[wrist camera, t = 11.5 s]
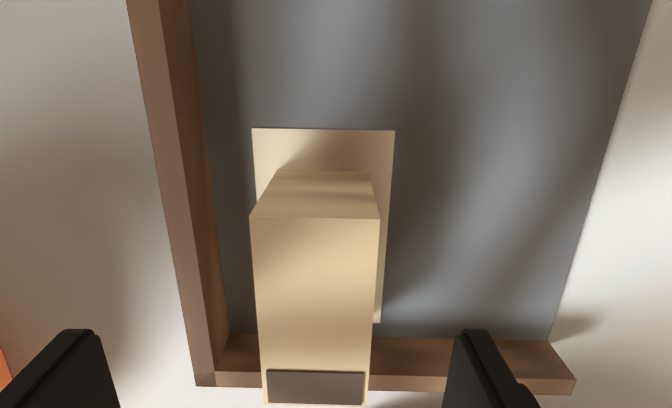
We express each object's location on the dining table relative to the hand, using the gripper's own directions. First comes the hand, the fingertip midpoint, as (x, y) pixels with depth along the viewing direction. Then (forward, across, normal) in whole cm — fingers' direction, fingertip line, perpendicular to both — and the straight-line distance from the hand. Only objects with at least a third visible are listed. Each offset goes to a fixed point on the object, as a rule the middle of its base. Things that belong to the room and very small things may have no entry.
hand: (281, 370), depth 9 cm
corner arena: (+8, -4, -2) cm, 9 cm away
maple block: (+8, -1, +1) cm, 8 cm away
